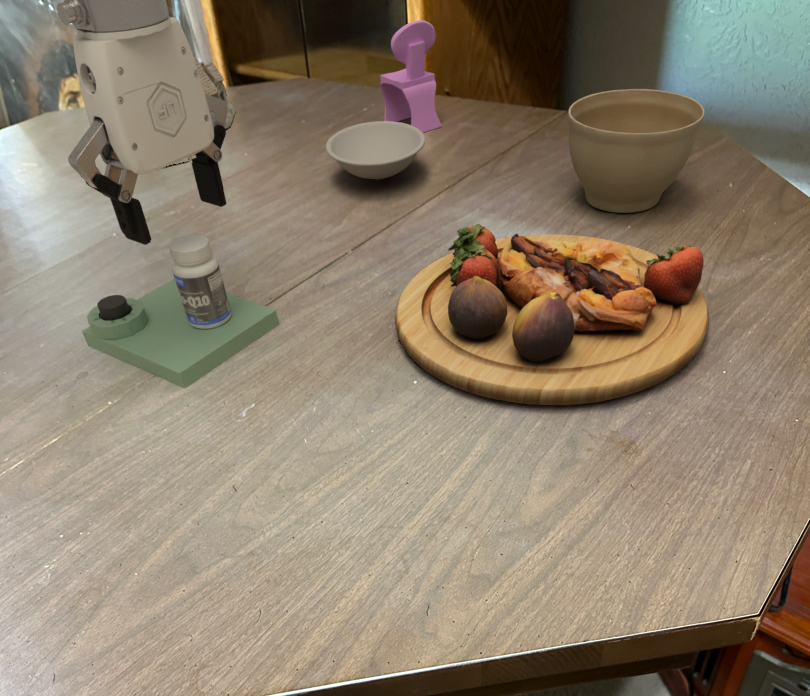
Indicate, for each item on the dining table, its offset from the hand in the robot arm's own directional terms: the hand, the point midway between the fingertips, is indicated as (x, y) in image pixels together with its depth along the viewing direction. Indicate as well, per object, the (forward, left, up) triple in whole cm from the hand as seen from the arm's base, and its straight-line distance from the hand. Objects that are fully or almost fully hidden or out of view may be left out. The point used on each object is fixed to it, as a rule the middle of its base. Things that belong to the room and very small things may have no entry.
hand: (177, 221), depth 70 cm
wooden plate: (+30, +20, -13) cm, 39 cm away
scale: (-3, -2, -12) cm, 13 cm away
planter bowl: (+24, +52, -13) cm, 59 cm away
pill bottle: (0, 0, -11) cm, 11 cm away
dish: (-11, +44, -13) cm, 47 cm away
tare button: (-8, -6, -9) cm, 13 cm away
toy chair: (-20, +65, -13) cm, 69 cm away
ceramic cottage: (-57, +51, -13) cm, 77 cm away
